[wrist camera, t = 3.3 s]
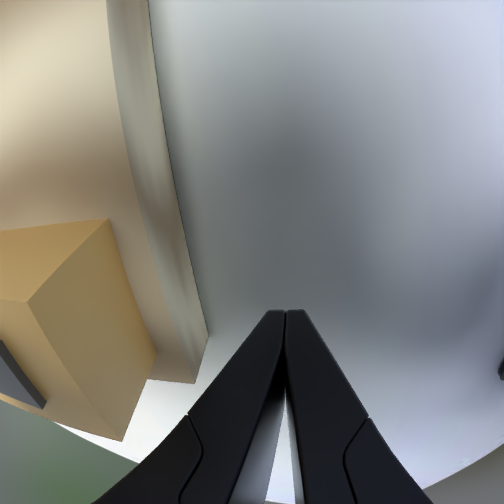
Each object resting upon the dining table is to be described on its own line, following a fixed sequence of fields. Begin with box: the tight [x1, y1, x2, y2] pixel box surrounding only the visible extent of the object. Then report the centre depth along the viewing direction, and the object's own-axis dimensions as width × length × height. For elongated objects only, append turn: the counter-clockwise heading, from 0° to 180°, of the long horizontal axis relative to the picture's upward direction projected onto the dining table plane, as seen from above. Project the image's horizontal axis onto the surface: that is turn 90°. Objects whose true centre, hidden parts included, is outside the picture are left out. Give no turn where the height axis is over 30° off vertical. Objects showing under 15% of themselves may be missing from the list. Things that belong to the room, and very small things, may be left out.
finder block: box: [0, 218, 157, 442], centre depth 8 cm, size 5×6×4 cm
